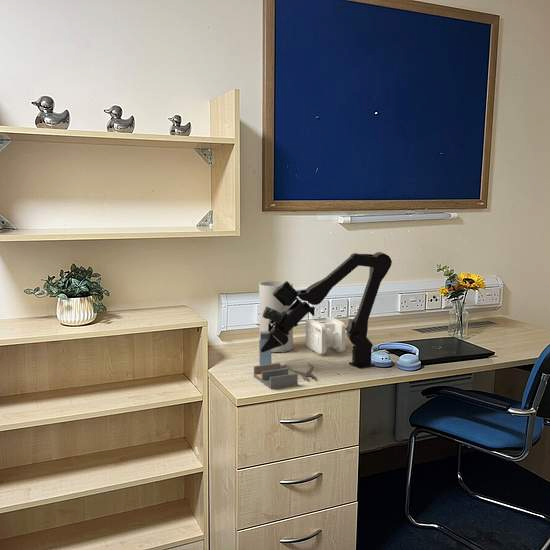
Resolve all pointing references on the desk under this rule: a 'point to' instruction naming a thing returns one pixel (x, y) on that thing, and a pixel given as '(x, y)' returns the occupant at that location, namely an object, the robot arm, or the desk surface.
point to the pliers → (305, 375)
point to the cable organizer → (325, 335)
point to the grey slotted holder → (275, 376)
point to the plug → (263, 356)
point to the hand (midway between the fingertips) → (261, 347)
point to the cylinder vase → (270, 301)
